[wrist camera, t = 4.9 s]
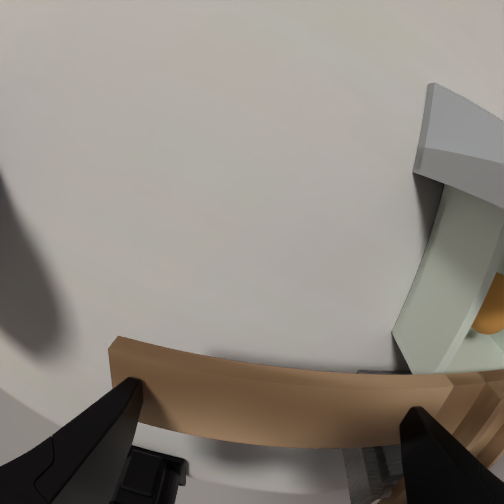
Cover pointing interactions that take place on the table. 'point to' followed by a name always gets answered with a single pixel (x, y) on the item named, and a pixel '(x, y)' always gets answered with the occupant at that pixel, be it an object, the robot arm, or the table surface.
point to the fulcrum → (372, 464)
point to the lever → (307, 403)
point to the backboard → (461, 145)
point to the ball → (492, 309)
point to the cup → (454, 290)
